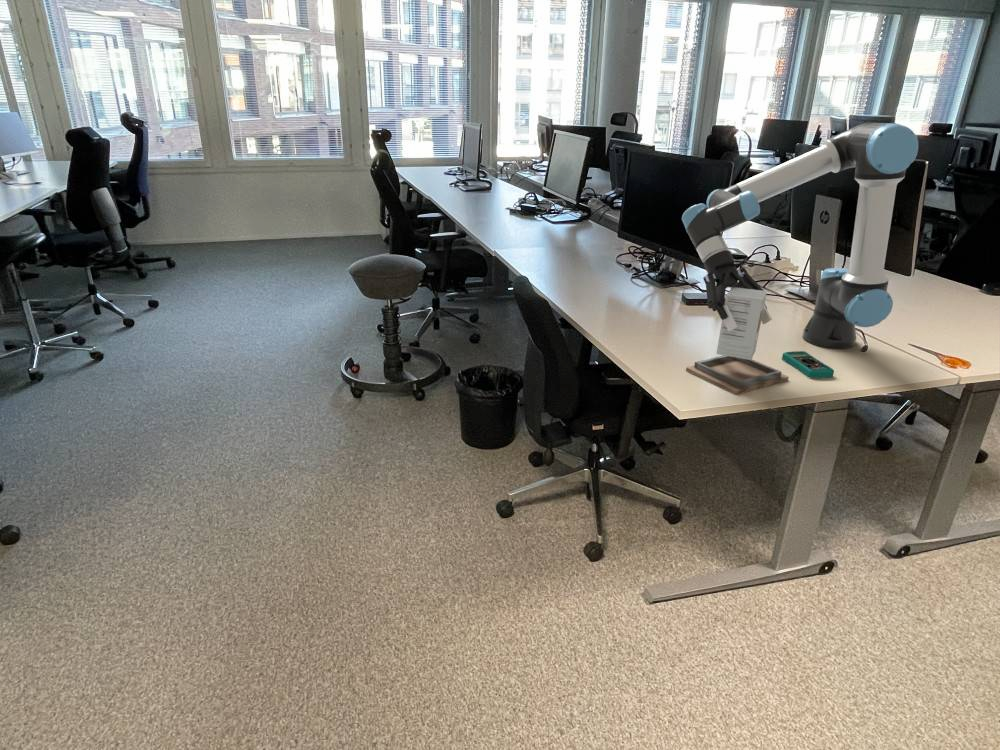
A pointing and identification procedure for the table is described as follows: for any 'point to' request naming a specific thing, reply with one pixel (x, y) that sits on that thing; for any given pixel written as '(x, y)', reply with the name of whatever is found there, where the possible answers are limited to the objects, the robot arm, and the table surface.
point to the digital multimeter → (807, 364)
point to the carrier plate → (736, 373)
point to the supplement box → (742, 323)
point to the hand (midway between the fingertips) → (750, 325)
